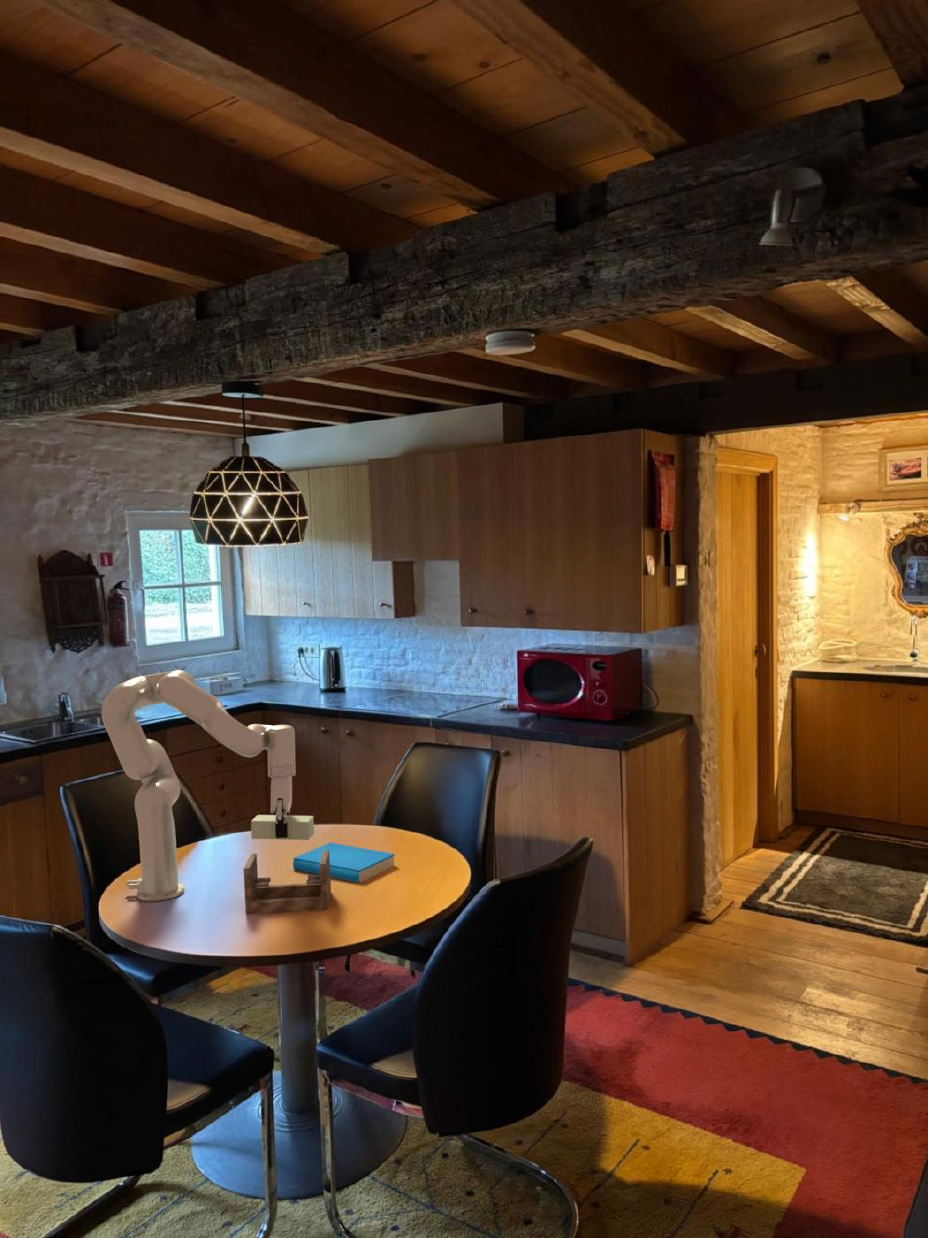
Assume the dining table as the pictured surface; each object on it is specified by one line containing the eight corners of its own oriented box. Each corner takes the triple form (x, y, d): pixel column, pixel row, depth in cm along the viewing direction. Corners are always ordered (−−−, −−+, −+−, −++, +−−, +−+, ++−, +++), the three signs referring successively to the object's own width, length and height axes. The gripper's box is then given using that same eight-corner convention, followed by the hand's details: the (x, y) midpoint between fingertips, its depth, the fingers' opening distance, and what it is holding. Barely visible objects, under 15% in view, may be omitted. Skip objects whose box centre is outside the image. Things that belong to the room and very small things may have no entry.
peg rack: (245, 914, 241) (243, 868, 240) (253, 897, 253) (251, 854, 252) (327, 909, 242) (325, 864, 241) (331, 892, 254) (329, 849, 253)
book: (329, 842, 288) (395, 852, 275) (330, 856, 288) (395, 866, 275) (291, 858, 274) (358, 869, 260) (292, 873, 274) (359, 885, 261)
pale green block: (251, 838, 257) (251, 821, 257) (258, 832, 263) (257, 815, 262) (308, 840, 255) (308, 822, 255) (313, 833, 261) (313, 816, 261)
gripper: (272, 763, 266) (274, 825, 267) (263, 777, 249) (264, 843, 250) (299, 763, 267) (300, 824, 268) (291, 777, 249) (293, 842, 251)
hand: (283, 833), depth 259 cm, fingers closed on pale green block, 6 cm apart
